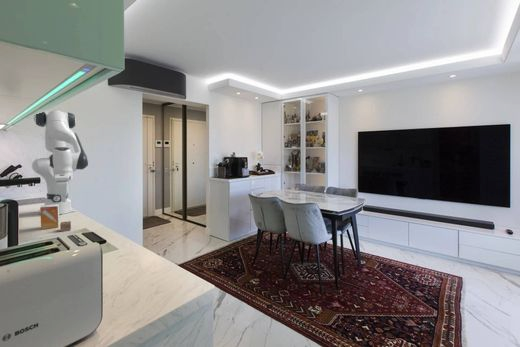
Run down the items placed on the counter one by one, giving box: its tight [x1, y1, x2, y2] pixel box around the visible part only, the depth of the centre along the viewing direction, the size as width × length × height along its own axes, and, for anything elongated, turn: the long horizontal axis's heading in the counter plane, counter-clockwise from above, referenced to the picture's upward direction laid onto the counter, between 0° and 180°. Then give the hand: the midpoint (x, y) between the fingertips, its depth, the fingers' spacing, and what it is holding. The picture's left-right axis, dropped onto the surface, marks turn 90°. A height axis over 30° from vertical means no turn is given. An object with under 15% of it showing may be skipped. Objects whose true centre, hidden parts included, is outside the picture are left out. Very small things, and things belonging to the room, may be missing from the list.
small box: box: [39, 204, 60, 230], centre depth 153 cm, size 8×6×13 cm
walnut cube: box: [59, 220, 72, 233], centre depth 149 cm, size 4×4×4 cm
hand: (64, 200), depth 148 cm, fingers open, 8 cm apart
